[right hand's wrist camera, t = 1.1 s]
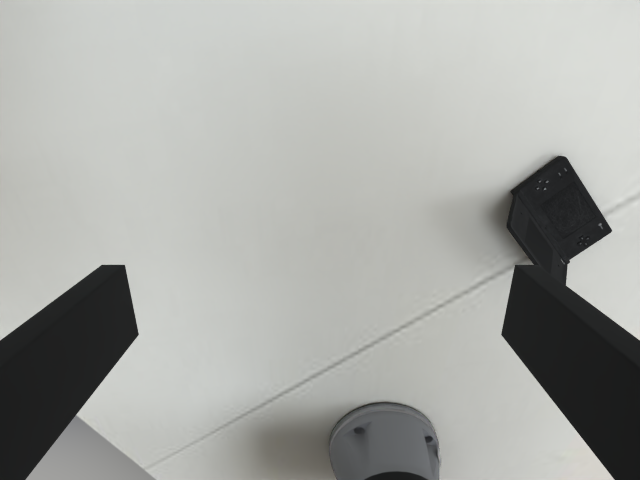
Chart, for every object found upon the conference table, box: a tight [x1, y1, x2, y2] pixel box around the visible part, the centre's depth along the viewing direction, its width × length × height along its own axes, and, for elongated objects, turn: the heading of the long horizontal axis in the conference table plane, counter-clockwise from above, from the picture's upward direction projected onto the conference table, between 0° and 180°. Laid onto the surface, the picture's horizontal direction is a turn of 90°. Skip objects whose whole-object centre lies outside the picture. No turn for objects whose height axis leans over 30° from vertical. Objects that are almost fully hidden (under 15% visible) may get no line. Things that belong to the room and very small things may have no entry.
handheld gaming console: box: [507, 156, 612, 285], centre depth 38 cm, size 12×7×10 cm
